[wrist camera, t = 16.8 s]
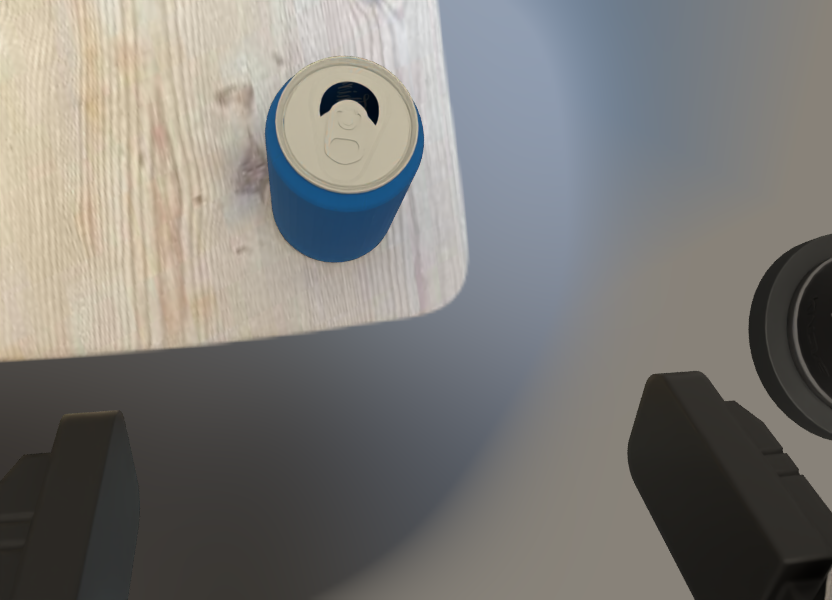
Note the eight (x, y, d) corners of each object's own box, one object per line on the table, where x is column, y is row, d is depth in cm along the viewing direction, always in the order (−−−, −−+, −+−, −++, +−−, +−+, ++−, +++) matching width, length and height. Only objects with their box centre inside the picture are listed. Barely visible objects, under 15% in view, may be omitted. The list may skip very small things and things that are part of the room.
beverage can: (398, 159, 43) (437, 60, 31) (385, 272, 42) (420, 214, 30) (280, 141, 42) (276, 32, 31) (264, 256, 41) (252, 189, 29)
